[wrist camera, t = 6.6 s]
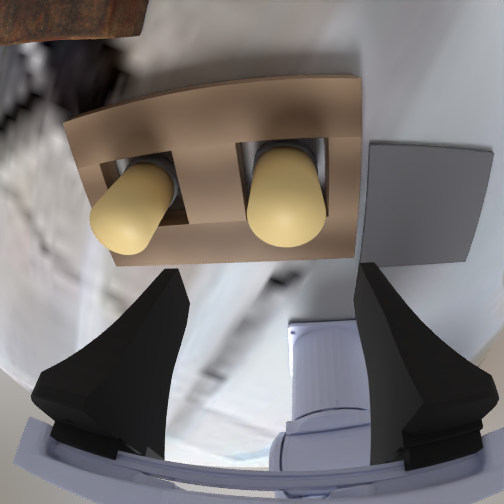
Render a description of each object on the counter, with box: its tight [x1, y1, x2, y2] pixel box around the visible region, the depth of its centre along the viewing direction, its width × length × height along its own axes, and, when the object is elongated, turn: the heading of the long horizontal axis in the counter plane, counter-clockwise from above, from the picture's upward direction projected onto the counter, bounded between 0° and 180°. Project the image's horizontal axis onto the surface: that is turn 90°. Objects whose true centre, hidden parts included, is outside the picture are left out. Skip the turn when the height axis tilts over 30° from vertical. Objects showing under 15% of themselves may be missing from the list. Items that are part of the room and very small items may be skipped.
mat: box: [360, 144, 494, 267], centre depth 20 cm, size 10×10×1 cm
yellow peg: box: [247, 139, 326, 247], centre depth 17 cm, size 4×4×6 cm
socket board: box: [63, 74, 362, 266], centre depth 20 cm, size 12×18×2 cm, turn 97°
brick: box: [0, 0, 148, 46], centre depth 11 cm, size 11×4×5 cm, turn 76°
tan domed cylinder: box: [90, 154, 180, 255], centre depth 19 cm, size 4×4×6 cm
